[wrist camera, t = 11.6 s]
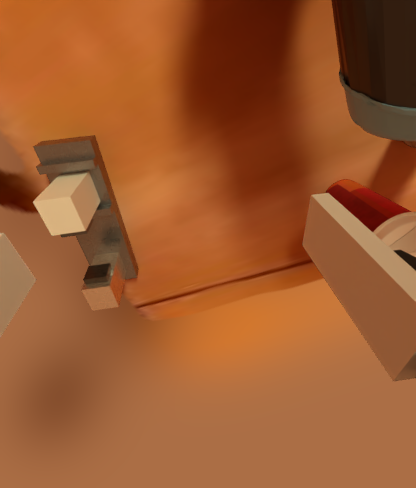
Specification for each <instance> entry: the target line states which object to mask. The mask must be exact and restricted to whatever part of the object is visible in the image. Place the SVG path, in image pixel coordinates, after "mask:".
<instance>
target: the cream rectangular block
mask: <svg viewBox="0 0 416 488" xmlns="http://www.w3.org/2000/svg"><path fill="white" fill-rule="evenodd" d="M33 203H34V205H35V206H36V208H37V210H38V212H39V214H40V215H41V217H42V219H43V221H44V222H45V224H46V226H47V228H48V230H49V231H50V233H51V235H52V236H53V235H61V237H67V236H75V235H82V234H88V232H89V230H90V228H91V226H92V223H93V219H92V217H93V215H94V213H95V211H96V209H97V207H98V205H99V203H100V199H99V196H98V193H97V191H96V188H95V186H94V183H93V180H92V178H91V175H90V173H89V171H86V172H79V173H71V174H64V175H59V176H58V177H57V178H56V179H55V180H54V181H53V182H52V183H51V184H50V185H49V186H48V187H47V188H46V189H45V190H44V191H43V192H42V193H41V194H40V195H39V196H38V197H37V198H36V199H35V200H34V201H33Z"/></svg>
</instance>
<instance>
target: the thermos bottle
mask: <svg viewBox="0 0 416 488" xmlns="http://www.w3.org/2000/svg"><path fill="white" fill-rule="evenodd" d="M404 142H405V144H407V145H409V146H411V147H414V148H416V141H404Z"/></svg>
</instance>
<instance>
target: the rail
mask: <svg viewBox="0 0 416 488" xmlns="http://www.w3.org/2000/svg"><path fill="white" fill-rule="evenodd" d="M33 147H34V149H35V151H36V153H37V156H38V158H39V160H40V162H41V163H40V164H39V165H38V166H36V168H37V170H38V172H39V174H47V177H48V179H49V181H50V183H52V182H53V181H54V180H55V179H56V178H57V177H58V176H59V175H64V174H71V173H79V172H86V171H89V173H90V175H91V178H92V180H93V183H94V186H95V188H96V191H97V193H98V196H99V199H100V203H99V205H98V207H97V209H96V211H95V213H94V215H93V217H92V219H93V223H92V226H91V228H90V230H89V232H88V234H82V235H76V237H77V240H78V242H79V244H80V246H81V248H82V250H83V252H84V254H85V256H86V258H87V260H88V262H89V265H90V266H89V267H88V269H87V272H86V274H85V277H84V279H83V280H84V284H83V287H82V289H81V291H82V293H83V295H84V296H85V298H86V300H87V302H88V304H89V305H90V307H91V309H92V311H94V310H101V309H108V308H114V307H119V304H120V299H121V294H122V290H123V285H124V280H125V279H131V278H137V275H138V266H137V263H136V259H135V256H134V253H133V250H132V247H131V244H130V241H129V238H128V235H127V232H126V229H125V226H124V223H123V220H122V217H121V214H120V211H119V208H118V205H117V202H116V199H115V195H114V192H113V189H112V186H111V183H110V180H109V177H108V174H107V171H106V168H105V165H104V162H103V159H102V156H101V153H100V150H99V147H98V144H97V141H96V138H95V135H94V136H85V137H76V138H68V139H59V140H50V141H42V142H40V143H38V144H37V145H35V146H33Z"/></svg>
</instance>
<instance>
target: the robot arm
mask: <svg viewBox="0 0 416 488" xmlns="http://www.w3.org/2000/svg"><path fill="white" fill-rule="evenodd" d="M332 8H333V15H334V23H335V31H336V38H337V46H338V54H339V61H340V71H339V78H340V82H341V84H342V86H343V87H344V89H345V94H346V99H347V105H348V110H349V114H350V116H351V118H352V120H353V121H354V122H355V123H356V124H357V125H359V126H361V128H363V130H364V131H366V132H368V133H370V134H373V135H376V136H379V137H382V138H386V139H392V140H399V141H416V0H332ZM302 246H303V247H304V249H305V250H306V252H307V253H308V255H309V256H310V258H311V259H312V261H313V262H314V264H315V265H316V267H317V268H318V270H319V271H320V273H321V274H322V276H323V277H324V279H325V280H326V282H327V283H328V285H329V286H330V288H331V289H332V291H333V292H334V294H335V295H336V297H337V298H338V300H339V301H340V303H341V304H342V305H343V307H344V308H345V310H346V311H347V313H348V314H349V316H350V317H351V319H352V320H353V322H354V323H355V325H356V326H357V328H358V329H359V331H360V332H361V334H362V335H363V337H364V338H365V340H366V341H367V343H368V344H369V345H370V347H371V349H372V350H373V352H374V353H375V355H376V356H377V358H378V359H379V361H380V362H381V364H382V365H383V366H384V368H385V370H386V371H387V373H388V374H389V375H390V377H391V378H392V380H393V381H398V380H406V379H412V378H416V257H414V256H412V255H410V254H408V253H406V252H404V251H402V250H392V249H391V248H390V247H388V246H387V245H386V244H385V243H384V242H383V241H382V240H381V239H379V238H378V237H377V236H376V235H375V234H374V233H373V232H372V231H370V230H369V229H368V228H367V227H366V226H365V225H364V224H363V223H362V222H360V221H359V220H358V219H357V218H356V217H355V216H354V215H353V214H351V213H350V212H349V211H348V210H347V209H346V208H345V207H344V206H342V205H341V204H340V203H339V202H338V201H337V200H336V199H335V198H333V197H332V196H331V195H330V194H329V193H322V194H314V195H311V197H310V203H309V209H308V214H307V220H306V226H305V232H304V237H303V243H302ZM35 281H36V278H35V277H34V276H33V274H32V273H31V271H30V270H29V268H28V267H27V265H26V264H25V263H24V261H23V260H22V258H21V257H20V255H19V254H18V252H17V251H16V250H15V248H14V247H13V245H12V244H11V242H10V241H9V239H8V238H7V236H6V235H5V234H4V233H0V337H1V335H2V334H3V332H4V330H5V329H6V327H7V326H8V324H9V323H10V321H11V319H12V318H13V316H14V315H15V313H16V312H17V310H18V308H19V307H20V305H21V304H22V302H23V300H24V299H25V297H26V296H27V294H28V292H29V291H30V289H31V288H32V286H33V284H34V283H35Z"/></svg>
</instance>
